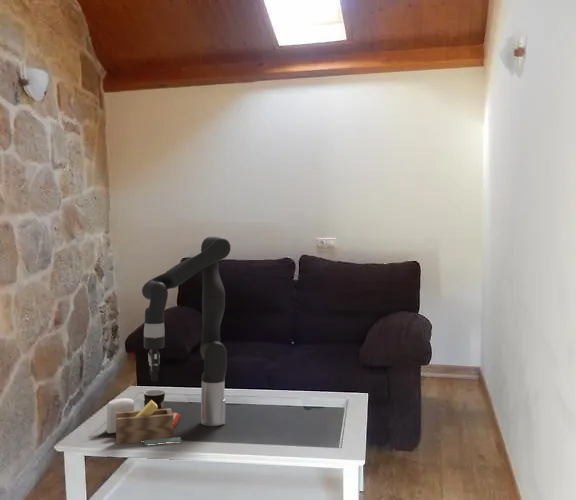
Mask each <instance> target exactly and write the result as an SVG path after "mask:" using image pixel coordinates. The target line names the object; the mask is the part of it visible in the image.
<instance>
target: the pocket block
mask: <svg viewBox="0 0 576 500" xmlns="http://www.w3.org/2000/svg"><path fill="white" fill-rule="evenodd" d="M141 410H142V409H141ZM141 410H134V411H126V412H116V433H115V435H116V437H115V438H116V440H115V441H116V445H124V444H123V443H127V444H134V443H135V442H138V443H142V442H141V441H144V440H152V439H164V438H174V429H173V417H174V415H173V413H174V412H173V411H172V408H171V407H170V408H163V409H156V410H155V411H154V413H153V414H152V415H150V416H137V417H135V416H136V415H137V414H138V413H139V412H140V411H141ZM135 444H136V443H135Z"/></svg>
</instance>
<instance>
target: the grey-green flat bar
mask: <svg viewBox="0 0 576 500" xmlns="http://www.w3.org/2000/svg"><path fill="white" fill-rule="evenodd" d="M182 441H183V440H182V438H181V437H180V436H177V437H176V436H175V437H173V438H164V439H152V440H144V442H143V444H144V443H145V444H144V446H145V445H148V444H158V443H166V442H182Z"/></svg>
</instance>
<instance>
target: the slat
mask: <svg viewBox="0 0 576 500" xmlns="http://www.w3.org/2000/svg"><path fill="white" fill-rule="evenodd" d="M157 408H158V406H157V404H156V403H155V402H153V401H152V400H151V401H150V402H149V403H148V404H147V405H146V406H145V405H144V407H143V408H142V409H141V411H140V410H139V411H140V412H139V413H138V414H137V415H136V416H135V417H137V416H150V415H152V414H153V413H154V411H155V410H156V409H157Z"/></svg>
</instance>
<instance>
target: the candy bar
mask: <svg viewBox="0 0 576 500" xmlns="http://www.w3.org/2000/svg"><path fill="white" fill-rule="evenodd" d="M172 413H173V415H174V417H173V430H174V429H175V428H176V426H177V424H178V422H179V421H180V419H181V414H180V413H178V412H172Z"/></svg>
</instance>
